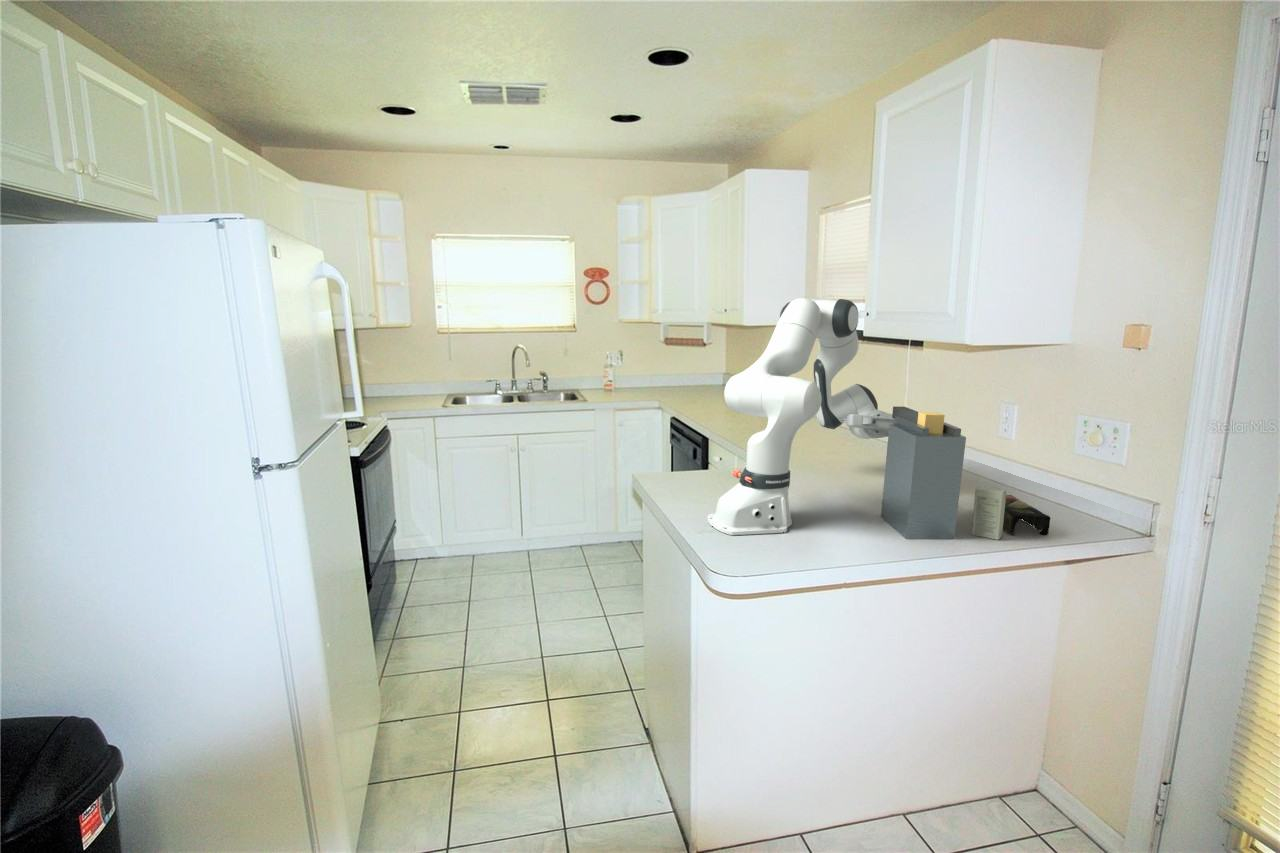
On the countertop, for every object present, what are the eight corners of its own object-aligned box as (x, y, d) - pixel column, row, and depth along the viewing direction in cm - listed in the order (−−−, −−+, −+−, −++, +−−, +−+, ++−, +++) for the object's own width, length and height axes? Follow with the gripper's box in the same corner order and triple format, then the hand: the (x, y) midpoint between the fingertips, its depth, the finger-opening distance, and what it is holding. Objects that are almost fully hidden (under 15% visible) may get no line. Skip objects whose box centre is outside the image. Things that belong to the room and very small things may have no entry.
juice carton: (972, 510, 174) (975, 489, 173) (1008, 511, 174) (1011, 491, 172) (1009, 537, 155) (1012, 514, 153) (1049, 539, 154) (1053, 516, 153)
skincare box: (1002, 536, 154) (1008, 489, 152) (998, 540, 151) (1004, 493, 148) (974, 529, 158) (979, 484, 156) (969, 534, 155) (975, 488, 153)
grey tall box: (880, 516, 167) (890, 416, 162) (924, 517, 167) (935, 416, 162) (905, 538, 152) (917, 428, 146) (954, 539, 152) (967, 428, 146)
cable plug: (889, 417, 171) (891, 401, 170) (906, 417, 171) (907, 401, 170) (923, 433, 150) (925, 414, 149) (942, 433, 150) (944, 415, 150)
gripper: (841, 411, 191) (854, 408, 177) (908, 417, 190) (926, 414, 176) (839, 431, 191) (852, 429, 177) (906, 437, 189) (924, 436, 176)
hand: (890, 422), depth 176 cm, fingers open, 8 cm apart
